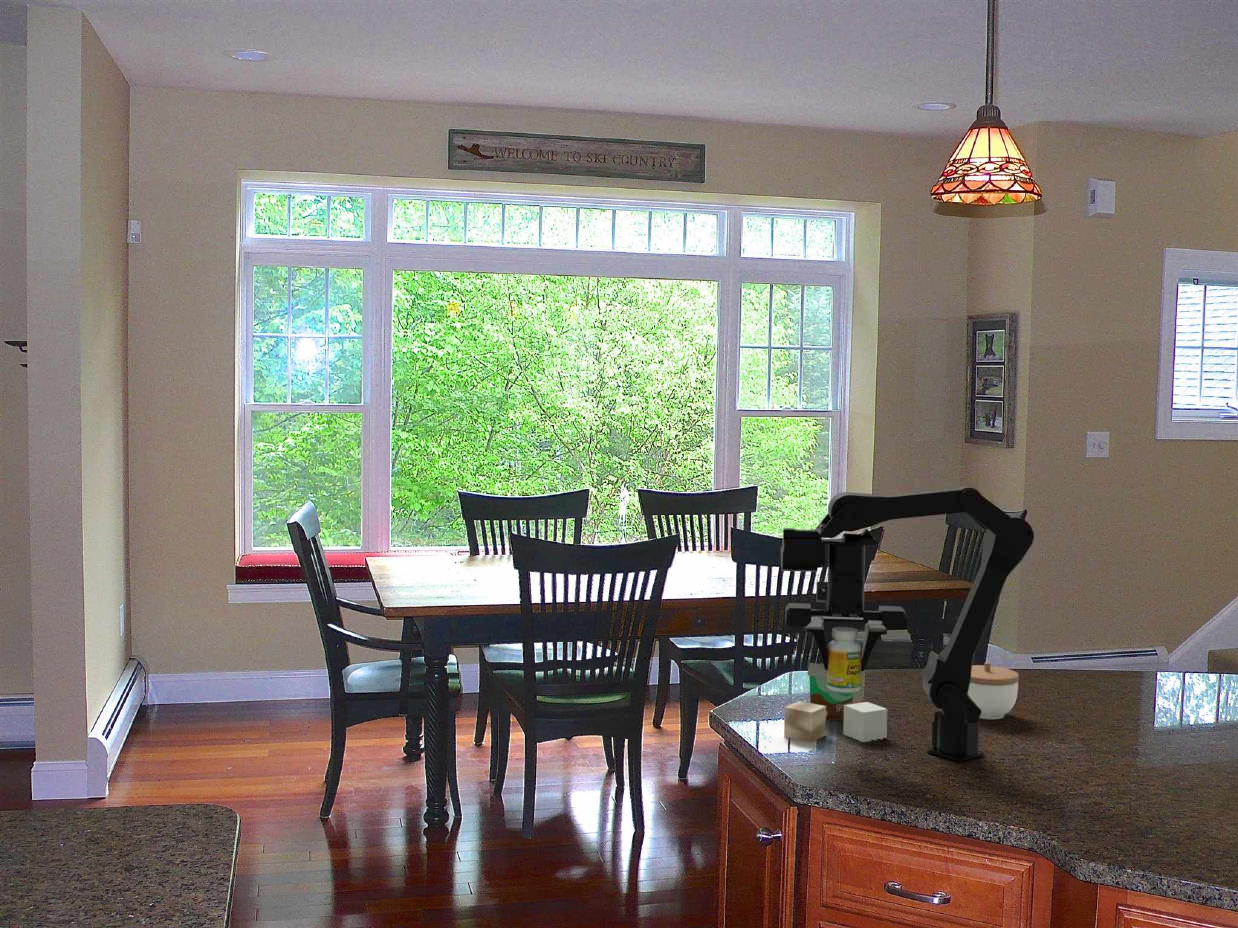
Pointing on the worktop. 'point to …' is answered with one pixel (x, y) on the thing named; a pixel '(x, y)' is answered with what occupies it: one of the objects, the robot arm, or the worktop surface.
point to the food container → (826, 693)
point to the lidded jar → (993, 690)
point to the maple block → (805, 721)
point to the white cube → (865, 721)
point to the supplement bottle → (844, 661)
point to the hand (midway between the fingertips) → (844, 669)
